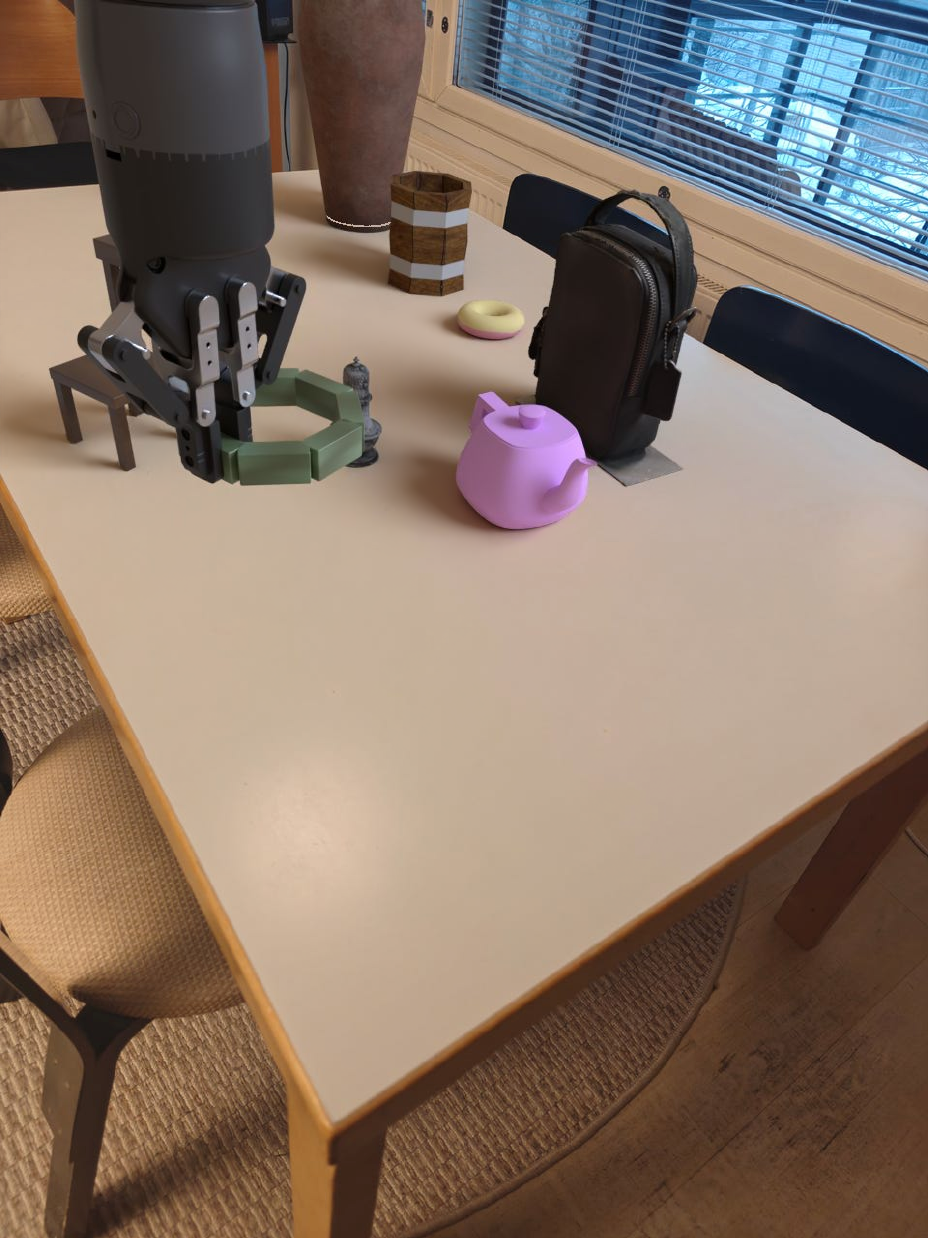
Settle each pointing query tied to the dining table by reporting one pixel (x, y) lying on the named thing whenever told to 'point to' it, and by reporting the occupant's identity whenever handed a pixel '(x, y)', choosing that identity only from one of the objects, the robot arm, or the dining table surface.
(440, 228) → the wooden barrel
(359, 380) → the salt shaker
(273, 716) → the dining table surface
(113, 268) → the chair
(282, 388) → the ring
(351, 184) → the vase
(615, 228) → the shoulder bag
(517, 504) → the teapot
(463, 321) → the donut
